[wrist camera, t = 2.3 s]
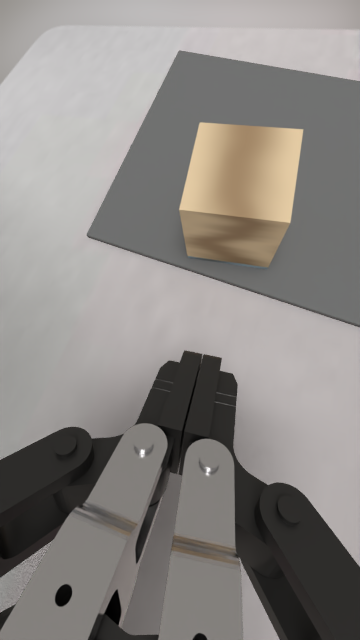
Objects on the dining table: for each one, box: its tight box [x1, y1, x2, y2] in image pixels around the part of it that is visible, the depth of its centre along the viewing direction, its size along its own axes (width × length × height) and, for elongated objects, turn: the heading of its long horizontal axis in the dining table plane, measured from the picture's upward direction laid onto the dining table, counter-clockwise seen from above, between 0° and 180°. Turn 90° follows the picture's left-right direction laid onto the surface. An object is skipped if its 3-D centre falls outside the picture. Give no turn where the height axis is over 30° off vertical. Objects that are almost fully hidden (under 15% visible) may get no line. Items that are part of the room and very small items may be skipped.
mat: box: [87, 51, 360, 327], centre depth 26 cm, size 26×24×1 cm
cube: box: [179, 122, 303, 269], centre depth 21 cm, size 7×7×7 cm
